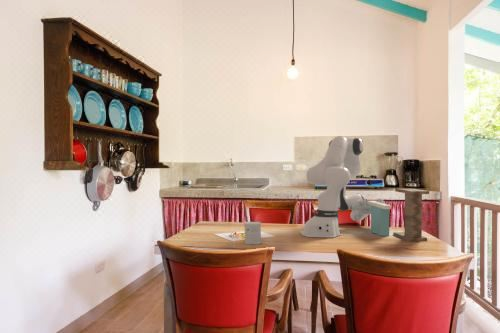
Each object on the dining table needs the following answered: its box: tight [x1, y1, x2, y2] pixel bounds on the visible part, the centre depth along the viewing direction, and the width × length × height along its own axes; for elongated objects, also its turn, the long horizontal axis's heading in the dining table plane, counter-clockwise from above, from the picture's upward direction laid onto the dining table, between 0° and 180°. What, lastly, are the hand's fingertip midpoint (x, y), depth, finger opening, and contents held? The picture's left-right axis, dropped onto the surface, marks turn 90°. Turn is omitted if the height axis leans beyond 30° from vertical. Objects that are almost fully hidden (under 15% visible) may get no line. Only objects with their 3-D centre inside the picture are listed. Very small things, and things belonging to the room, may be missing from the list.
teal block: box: [370, 205, 390, 237], centre depth 189 cm, size 5×12×16 cm, turn 5°
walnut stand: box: [392, 188, 430, 242], centre depth 177 cm, size 11×16×26 cm
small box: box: [244, 221, 262, 245], centre depth 167 cm, size 8×6×10 cm
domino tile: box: [367, 200, 392, 210], centre depth 191 cm, size 4×22×2 cm, turn 6°
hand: (373, 200), depth 197 cm, fingers open, 8 cm apart
